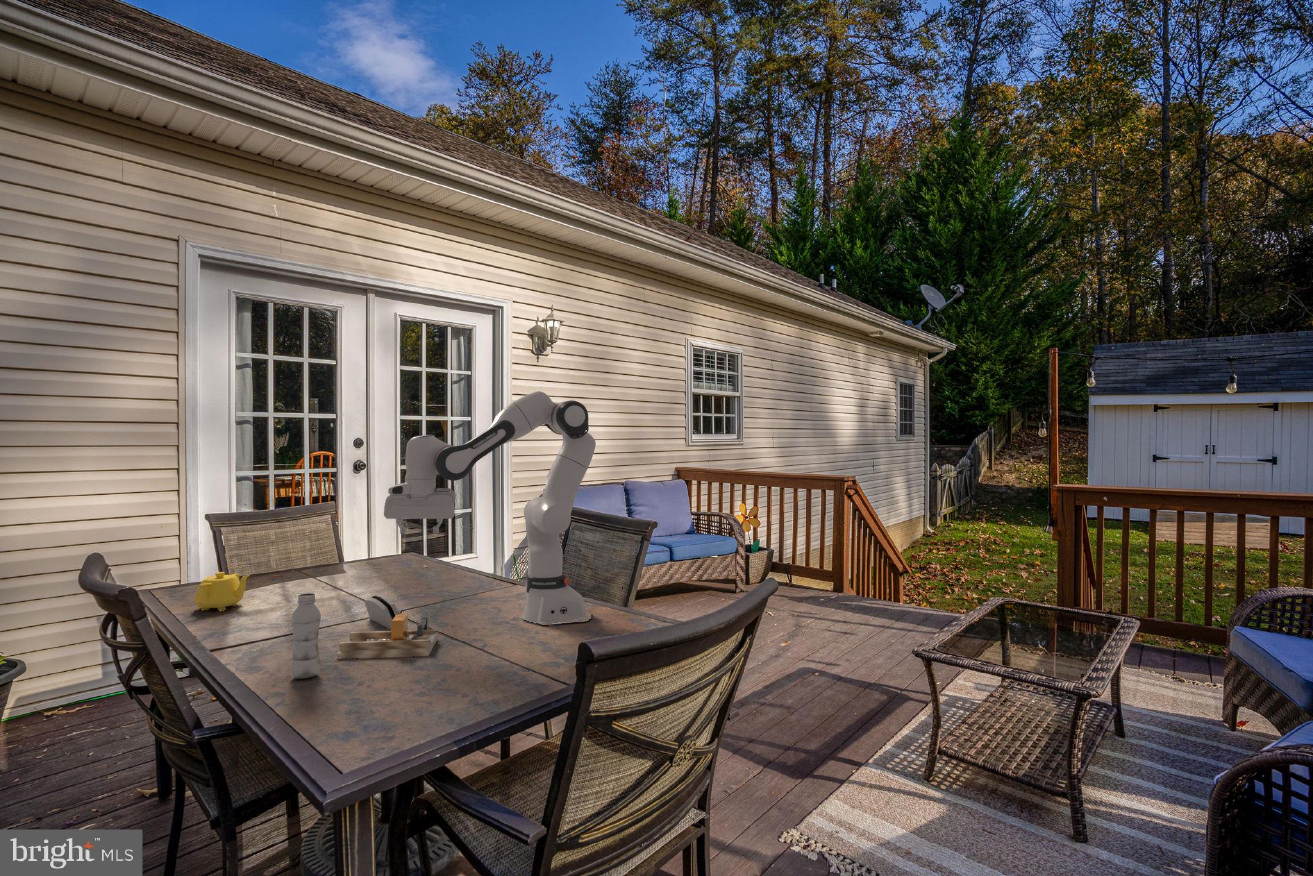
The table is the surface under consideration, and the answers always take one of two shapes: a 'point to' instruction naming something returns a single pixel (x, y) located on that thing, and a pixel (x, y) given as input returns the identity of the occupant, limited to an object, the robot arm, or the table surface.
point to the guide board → (384, 645)
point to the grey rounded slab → (381, 610)
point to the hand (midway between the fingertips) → (419, 533)
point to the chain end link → (404, 630)
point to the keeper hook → (422, 626)
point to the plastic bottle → (305, 638)
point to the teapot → (220, 591)
